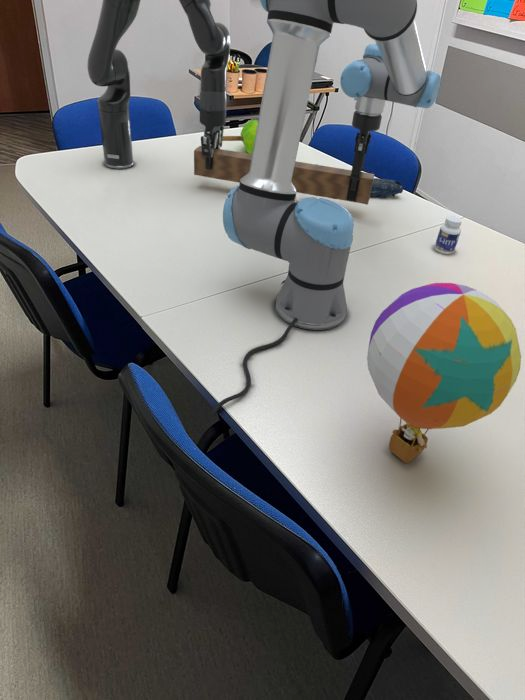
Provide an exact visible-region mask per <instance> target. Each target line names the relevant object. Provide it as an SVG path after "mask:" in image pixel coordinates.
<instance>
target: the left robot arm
mask: <svg viewBox="0 0 525 700" xmlns="http://www.w3.org/2000/svg"><path fill="white" fill-rule="evenodd" d="M178 1H179V3H180V5H181V7H182V9H183V12H184V13H185V15H186V16H187V19H188V24H189V27H190V29H191V32H192V36H193V38H194V40H195V43H196V45H197V46H198V48H199V50H200V51H201V52H202V53H203V54H204V63H203V65H202V67H201V69H200V92H199V123H200V124H201V125H202V126H204V127H205V128H204V131H203V135H202V136H200V146H201V148H202V156H205V168H206V169H209V170H212V169H213V153H214V149H215V148H216V149H221V148H222V146H223V141H222V140H223V136H224V128H225V125H226V123H227V99H228V98H227V70H228V69H227V68H228V64H229V58H230V53H231V34H230V31H229V29H228V27H226V25H225V24H223V23H221V22H216V20H215V19H214V17H213V14H212V10H211V9H212V3H211V0H178ZM140 4H141V0H102V3H101V8H100V13H99V16H98V17H99V18H98V22H97V27H96V30H95V33H94V37H93V40H92V43H91V46H90V50H89V53H88V57H87V66H86V68H87V73H88V74H87V75H88V76H89V79H90V81H91V83H93V84H94V85H95V86H97V87H106V89H105V91H104V93H103V94H102V95H100V96H99V97H98V99H97V109H98V116H99V117H98V118H99V125H100V126H99V127H100V134H101V143H102V151H103V160H104V161H103V162H104V166H105V167H108V168H110V169H117V170H119V169H120V170H121V169H122V170H123V169H129V168H131V167H133V166H134V164H135V163H134V153H133V140H132V128H131V116H130V101H131V72H130V66H129V62H128V59H127V57H126V55H125V53H123V52H122V50H120V49H117V46H118V44H119V43H120V40H121V39H122V38H123V36H124V35H125V34H126V33H127V31H128V30H129V28H130V27H131V26H132V24H133V23H134V21H135V20H136V17H137V15H138V13H139V8H140ZM207 150H208V152H207Z"/></svg>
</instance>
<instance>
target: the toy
mask: <svg viewBox="0 0 525 700" xmlns="http://www.w3.org/2000/svg"><path fill="white" fill-rule="evenodd" d="M367 347H368V348H367V354H366V355H367V356H366V362H367V370H368V372H369V375H370V377H371V379H372V380H371V381H372V382H373V385H374V387H375V389H376V391H377V394H378V395H379V397H381V399H382V401H384V402H385V403H386V405H387V406H388V407H389V408H390V409H391V410H392V411H393V412H394V413H395V414H396V415H397V416H398V417H399V418H400V419H399V425H398V428H397V429H393V430H392V434H391V436H390V440H389V444H388V449H389V451H390V453H392V454H394V455H395V456H396V457H397V458H399V460H401V461H402V462H404V463H405V464H409V463H410V462H412V461H413V460H414V459H415V458H417V457H418V456H419V455H420V454H421V453H423V451H424V449H427V447H428V440H429V438H428V437H427V436H426V434H427V433H428V431H429V430H437V429H453V428H461V427H466V426H467V425H469V424H472V423H475V422H477V421H478V420H481V419H483V418H485V417H487V416H489V415H492V413H494V412H495V411H496V410H497V409H498V408H500V407H501V405H502V404H503V402H504V401H505V399H506V398H507V396H508V395H509V394H510V391H512V388H513V387H514V385H515V383H516V382H517V379H518V376H519V373H520V371H521V362H522V354H521V349H520V343H519V338H518V333H517V329H516V327H515V324H514V323H513V321H512V319H511V317H510V316H509V315H508V314H507V312H506V311H505V310H504V309H503V307H502V306H500V304H499V303H498V302H497V301H496V300H495V299H493V298H491V297H490V296H489V295H487V294H485V293H484V292H483V291H481V290H478V289H475V288H473V287H470V286H467V285H464V284H458V283H453V282H434V283H429V284H424V285H421V286H418V287H414V288H411V289H409V290H407V291H405V292H403V293H402V294H401V295H399V296H398V297H397V298H396V299H394V301H393V302H392V303H390V304H389V305H388V306H387V307H386V308H385V309H383V310H382V311H381V313H380V314H379V315H378V317H377V319H376V320H375V321H374V324H373V327H372V330H371V332H370V338H369V342H368V346H367ZM402 420H403V421H404V422H405V423H404V424H403V425H402ZM421 429H422V430H426V431H425V432H424V433H423V432H422V430H421Z"/></svg>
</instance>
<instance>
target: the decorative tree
mask: <svg viewBox="0 0 525 700" xmlns="http://www.w3.org/2000/svg"><path fill="white" fill-rule="evenodd" d="M257 125H258V120H257V119H252V120H250V121H248V122H246V123H244V125H243V127H242V129H241V131H240V135H223V140H222V142H242V144H243V145H244V148H245V150H246V152H247V154H252V153H253V148H254V142H255V136H256V130H257Z"/></svg>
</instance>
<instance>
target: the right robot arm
mask: <svg viewBox="0 0 525 700" xmlns="http://www.w3.org/2000/svg"><path fill="white" fill-rule="evenodd" d="M259 1H260V4H261V7H262V8H263V9H264V11H265V12H267V19H266V24H267V26H268V27H269V29H270V31H271V32H272V38H271V39H272V40H271V45H270V51H269V55H268V62H267V67H266V74H265V79H264V84H263V91H262V96H261V102H260V107H259V113H258V120H257V121H258V125H257V130H256V136H255V142H254V148H253V153H252V159H251V165H250V171H249V173H248V174H246V175H245V176H244V177H242V178H241V179H240V183H239V185H236V186H234V187H232V188H231V189H230V190H229V192H228V194H227V198H225V201H224V203H223V208H222V209H223V210H222V224H223V229H224V231H225V234H226V235H227V237H228V239H229V240H230V241H232V242H234V243H235V244H238V245H240V246H242V247H243V248H245V249H248V250H253V251H256V252H259V253H262V254H265V255H268V256H271V257H273V258H277V259H280V260H283V261H285V262H288V263H289V264H288V270H287V271H288V272H287V275H286V278H285V279H284V280H282V281H281V282H280V283H281V284H280V285H281V287H280V290H279V291H278V294H277V296H276V300H275V311H276V313H277V315H278V316H279V317H280V318H281V319H282V320H283V321H284V322H286V323H287V324H289V325H288V326H287V327H286V329H285V331H284V333H283V334H282V335H281V337H280V338H278V339H277V340H275V341H273V342H271V343H268V344H264V345H260V346H257V347H254V348H252V349H251V350H249V351H248V352H247V353H246V354H245V355H244V356H243V357H244V358H243V361H242V367H243V371H244V374H245V377H246V384H245V386H244V388H243V389H242V390H241V391H240V392H238V393H236V394H233V395H230V396H228V397H226V398H224V399H222V400H221V401H219V402H218V403H217V404H216V405H215V406H214V408H213V409H212V411H211V412H210V416H211V417H214V416H216V414H217V413H218V411H219V410H220V409H221V408H222V407H223V406H224V405H225V404H227V403H229V402H232V401H234V400H237V399H239V398H242V397H243V396H245V395H246V394H247V393H248V391H249V389H250V387H251V384H252V378H251V374H250V371H249V367H248V359H250V357H251V356H252V355H253V354H255V353H257V352H259V351H262V350H265V349H269V348H273V347H275V346H277V345H279V344H281V343H282V342H283V341H284V340H285V339H286V338H287V336H288V335H289V333H290V331H291V330H292V328H293V327H296V328H300V329H304V330H310V331H324V330H325V331H326V330H329V329H333V328H336V327H337V326H339V325H340V324H342V323H343V322H344V320H345V318H346V315H347V310H348V307H347V306H348V305H347V297H346V292H345V286H344V280H345V275H346V271H347V267H348V261H349V257H350V251H351V246H352V244H353V240H354V239H353V238H354V235H353V234H354V228H355V221H354V218H353V215H352V214H351V212H349V210H348V209H346V208H345V206H343V205H341V204H339V203H338V202H335V201H333V200H330V199H329V198H325V197H319V198H317V197H316V196H311V197H309V196H308V197H304V198H301V199H300V200H298V201H297V202H296V198H297V197H296V196H297V190H296V188H295V187H294V185H293V184H292V181H291V180H292V175H293V170H294V165H295V161H296V160H297V155H298V151H299V146H300V142H301V136H302V131H303V127H304V121H305V117H306V114H307V108H308V103H309V100H310V99H309V98H310V94H311V90H312V84H313V79H314V76H315V75H314V74H315V70H316V65H317V61H318V55H319V51H320V48H321V47H320V46H321V45H322V43H324V42H325V41H327V40H328V39H329V38H330V37H331V34H332V30H333V26H334V24H341V25H349V26H353V27H358V28H360V29H363V30H364V32H365V34H366V35H367V37H368V38H370V39H371V40H373V41H374V42H375V43H372V44H371V43H370V44H367V45H366V46H365V48H364V53H363V55H362V58H361V59H357V60H354V61H352V62H350V63H349V64H348V65H346V66H345V67H344V69H343V70H342V72H341V75H340V81H339V82H340V83H339V84H340V87H341V90H342V92H343V93H344V94H345V95H346V96H347V97H349V98H351V99H352V98H353V100H354V101H355V104H354V109H355V110H354V112H353V115H352V120H351V126H352V127H353V128H354V129H356V130H359V132H356V135H355V140H354V141H355V145H354V148H353V152H354V156H353V161H352V167H351V170H352V171H351V175H350V176H348V178H350V182H349V188H348V193H347V199H346V200H350V201H356V197H357V192H358V187H359V182H360V174H361V172H366V168H365V167H364V166H365V159H366V154H367V153H368V150H369V146H370V143H371V140H372V134H371V132H377V131H379V130H380V129H381V128H380V127H381V123H382V120H383V119H382V118H383V115H382V114H383V113H384V110H385V106H386V101H387V102H392V103H396V104H401V105H405V106H410V107H413V108H422V109H430V108H431V107H432V106H433V105H434V103H436V100H437V98H438V94H439V90H440V88H441V80H442V79H441V75H440V73H438V72H435V71H432V70H427V68H426V64H425V59H424V55H423V54H424V53H423V50H422V46H421V42H420V37H419V33H418V29H417V24H416V20H415V19H416V16H417V13H418V1H417V0H259ZM350 201H349V202H350Z"/></svg>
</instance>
